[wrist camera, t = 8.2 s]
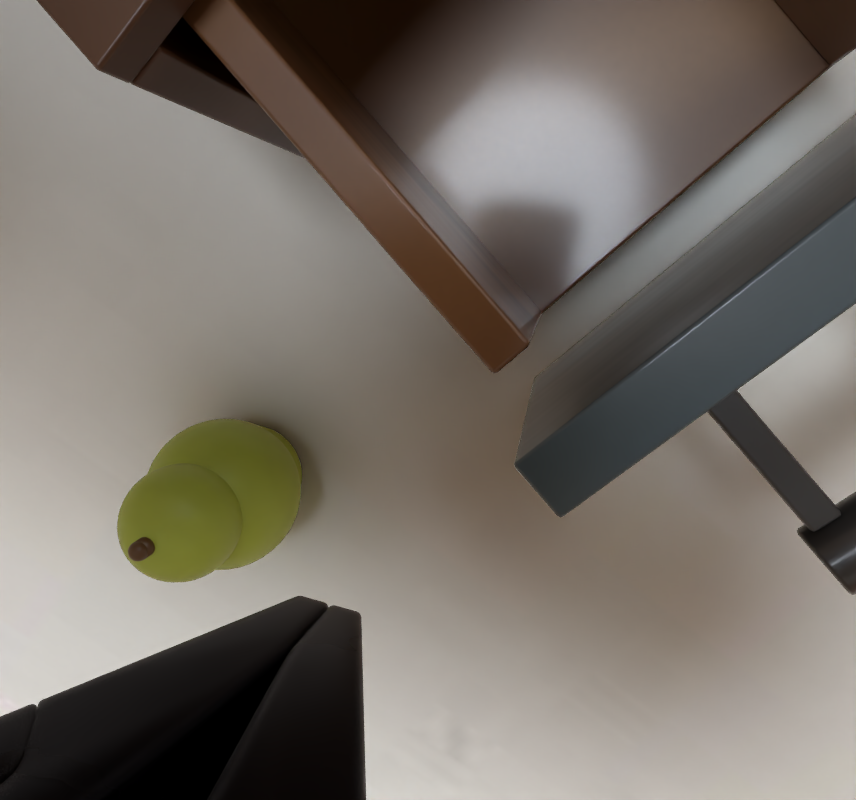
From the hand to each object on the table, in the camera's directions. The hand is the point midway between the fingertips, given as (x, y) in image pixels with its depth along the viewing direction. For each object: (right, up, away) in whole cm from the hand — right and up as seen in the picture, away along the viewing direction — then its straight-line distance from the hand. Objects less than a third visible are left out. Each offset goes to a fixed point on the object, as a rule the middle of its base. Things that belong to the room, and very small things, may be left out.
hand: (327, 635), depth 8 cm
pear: (-4, +1, +14) cm, 14 cm away
